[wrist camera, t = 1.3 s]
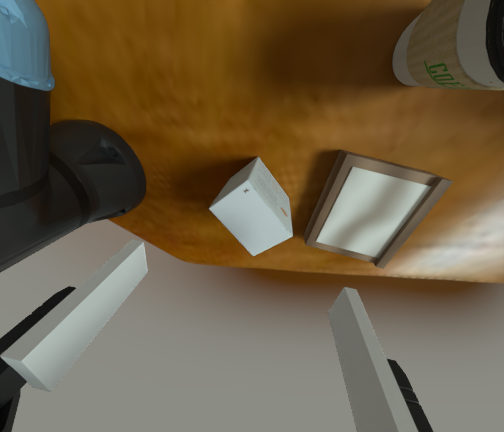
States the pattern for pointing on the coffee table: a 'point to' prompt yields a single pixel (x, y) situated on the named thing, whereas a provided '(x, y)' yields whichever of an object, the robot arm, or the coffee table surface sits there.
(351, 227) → the tray
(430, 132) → the coffee table surface
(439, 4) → the coffee cup
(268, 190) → the small box
